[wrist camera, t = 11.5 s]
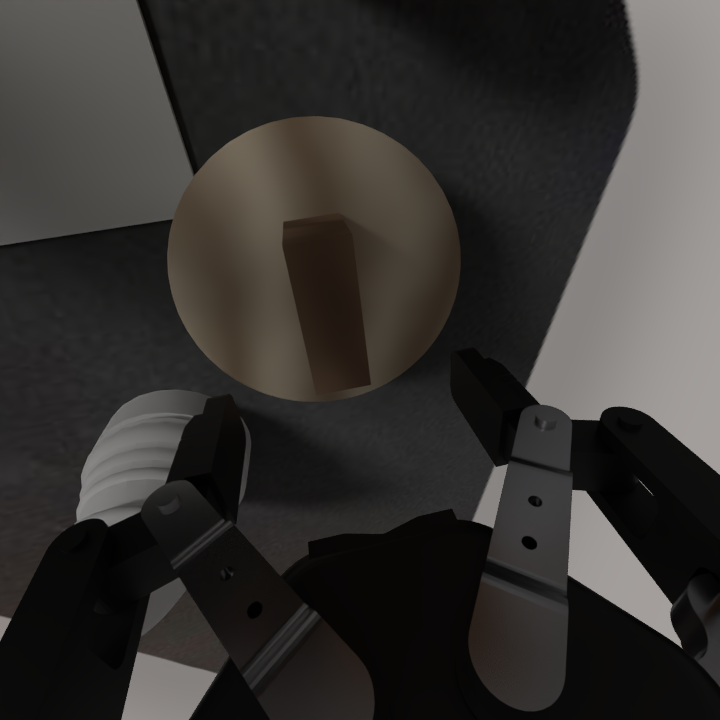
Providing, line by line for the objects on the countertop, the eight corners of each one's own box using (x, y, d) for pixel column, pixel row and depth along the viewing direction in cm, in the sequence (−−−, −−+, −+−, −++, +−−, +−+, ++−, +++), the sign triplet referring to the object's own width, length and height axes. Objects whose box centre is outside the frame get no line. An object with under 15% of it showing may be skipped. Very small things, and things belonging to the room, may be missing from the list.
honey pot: (117, 373, 31) (-46, 602, 16) (268, 408, 35) (253, 614, 20) (99, 477, 36) (-36, 723, 21) (232, 496, 41) (199, 711, 26)
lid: (226, 411, 27) (211, 479, 22) (117, 142, 18) (45, 145, 12) (451, 367, 28) (488, 421, 23) (456, 96, 19) (520, 81, 14)
